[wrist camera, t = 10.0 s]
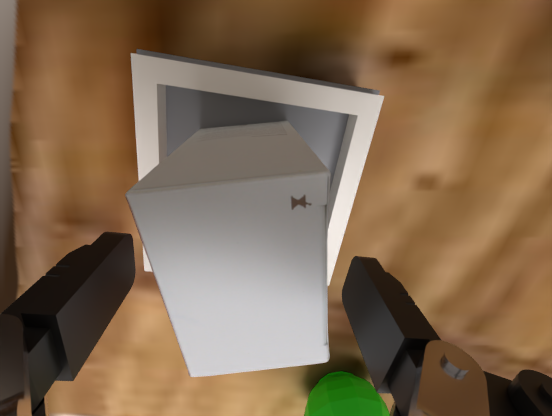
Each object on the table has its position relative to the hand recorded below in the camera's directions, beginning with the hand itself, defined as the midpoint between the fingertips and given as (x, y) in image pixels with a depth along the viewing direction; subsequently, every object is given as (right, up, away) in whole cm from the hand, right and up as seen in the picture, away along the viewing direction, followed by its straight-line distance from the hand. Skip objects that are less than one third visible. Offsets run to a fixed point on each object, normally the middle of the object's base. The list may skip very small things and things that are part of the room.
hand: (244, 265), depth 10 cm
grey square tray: (-1, +5, +12) cm, 13 cm away
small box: (0, +4, +8) cm, 9 cm away
